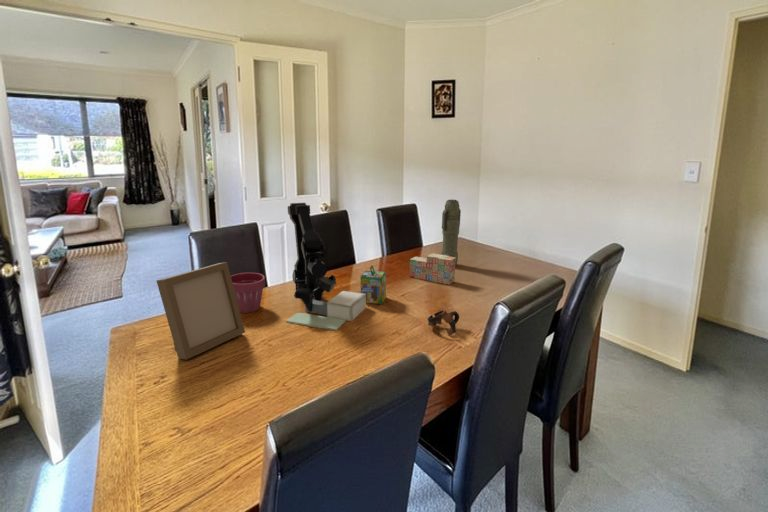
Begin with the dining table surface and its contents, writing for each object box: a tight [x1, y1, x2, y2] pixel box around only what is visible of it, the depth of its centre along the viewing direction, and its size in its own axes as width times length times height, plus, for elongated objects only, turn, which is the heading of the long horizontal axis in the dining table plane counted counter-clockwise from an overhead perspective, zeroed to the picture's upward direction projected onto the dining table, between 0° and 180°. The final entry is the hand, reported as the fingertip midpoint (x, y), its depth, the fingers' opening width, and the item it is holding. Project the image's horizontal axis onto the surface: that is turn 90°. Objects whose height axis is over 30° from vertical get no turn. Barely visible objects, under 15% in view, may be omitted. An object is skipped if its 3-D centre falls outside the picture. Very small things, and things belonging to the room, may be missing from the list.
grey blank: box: [304, 299, 329, 316], centre depth 161 cm, size 16×4×4 cm, turn 69°
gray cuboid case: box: [326, 290, 367, 322], centre depth 162 cm, size 10×14×6 cm
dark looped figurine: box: [427, 309, 460, 337], centre depth 148 cm, size 12×10×8 cm
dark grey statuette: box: [440, 199, 462, 267], centre depth 221 cm, size 9×12×35 cm
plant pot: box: [231, 272, 266, 314], centre depth 163 cm, size 14×14×13 cm
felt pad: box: [286, 312, 347, 331], centre depth 153 cm, size 20×8×1 cm, turn 71°
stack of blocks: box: [409, 252, 456, 286], centre depth 201 cm, size 21×6×12 cm, turn 58°
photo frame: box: [156, 261, 246, 360], centre depth 134 cm, size 15×22×25 cm
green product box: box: [359, 264, 387, 305], centre depth 173 cm, size 9×9×15 cm
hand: (314, 308), depth 163 cm, fingers open, 6 cm apart
